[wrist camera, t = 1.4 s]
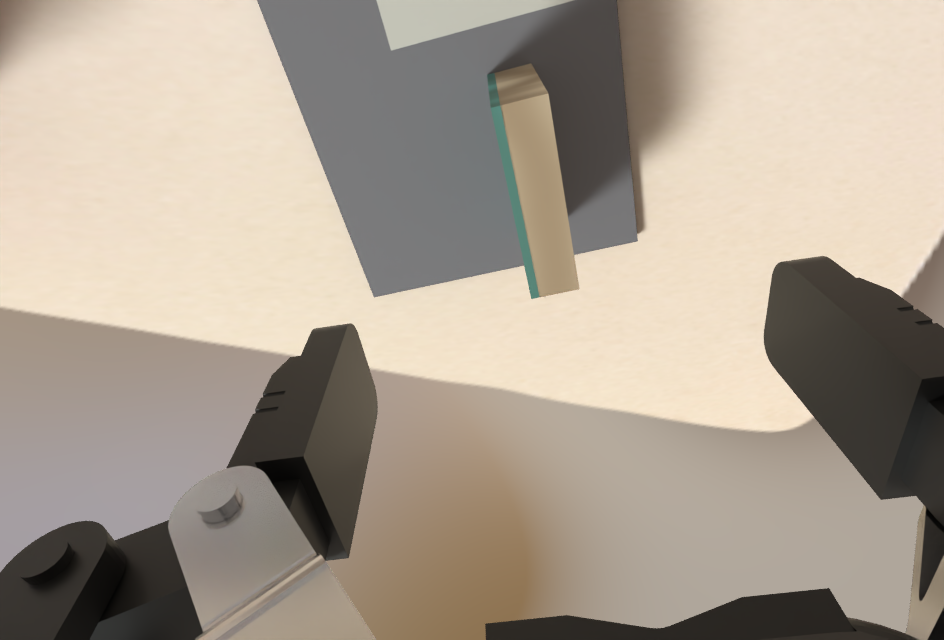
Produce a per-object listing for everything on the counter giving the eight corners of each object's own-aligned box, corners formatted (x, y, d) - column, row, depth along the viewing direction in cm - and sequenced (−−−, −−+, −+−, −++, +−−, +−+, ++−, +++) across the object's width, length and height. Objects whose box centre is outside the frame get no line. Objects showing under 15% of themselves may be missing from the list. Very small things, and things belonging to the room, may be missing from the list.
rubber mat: (582, -348, 19) (585, -358, 18) (634, 236, 30) (638, 241, 30) (182, -204, 21) (173, -209, 20) (375, 292, 32) (373, 297, 32)
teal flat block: (531, 63, 25) (548, 93, 19) (558, 223, 29) (579, 289, 23) (487, 74, 25) (490, 108, 19) (520, 232, 29) (531, 298, 23)
